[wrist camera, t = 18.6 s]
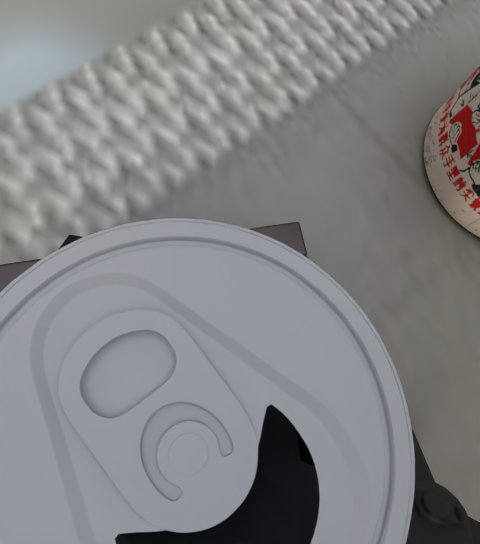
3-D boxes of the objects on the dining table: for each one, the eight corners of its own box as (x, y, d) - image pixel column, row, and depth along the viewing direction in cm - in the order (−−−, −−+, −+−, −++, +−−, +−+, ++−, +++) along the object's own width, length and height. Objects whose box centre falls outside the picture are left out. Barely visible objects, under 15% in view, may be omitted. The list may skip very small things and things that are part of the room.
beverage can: (155, 553, 15) (108, 1025, 4) (47, 398, 16) (-264, 402, 5) (295, 427, 17) (554, 490, 6) (192, 292, 18) (232, 105, 6)
